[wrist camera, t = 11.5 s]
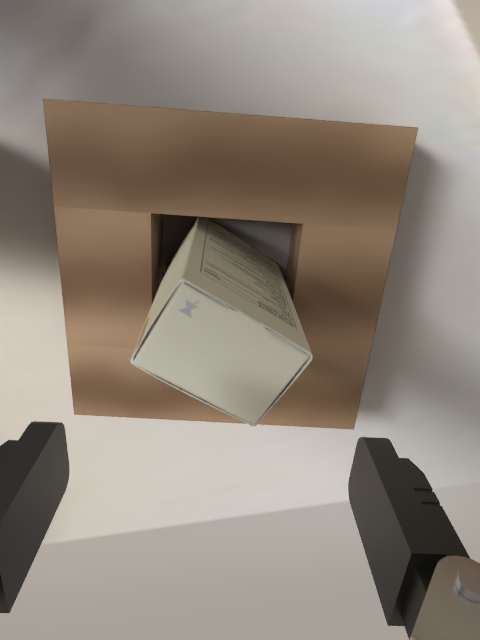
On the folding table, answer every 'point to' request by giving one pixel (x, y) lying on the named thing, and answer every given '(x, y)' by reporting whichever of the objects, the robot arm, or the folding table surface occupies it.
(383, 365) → the folding table surface
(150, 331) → the skincare box
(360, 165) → the socket block
